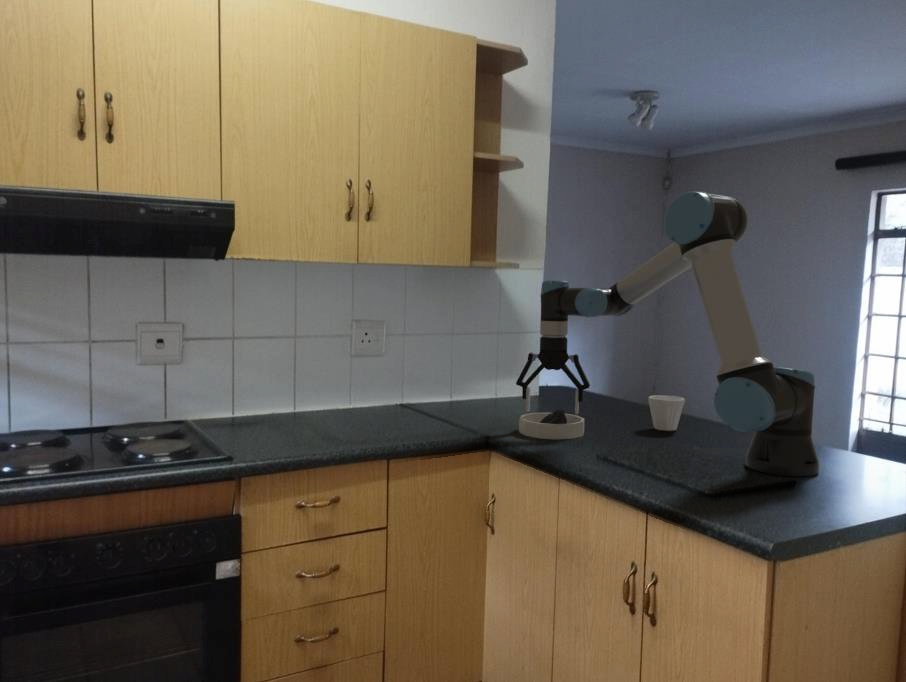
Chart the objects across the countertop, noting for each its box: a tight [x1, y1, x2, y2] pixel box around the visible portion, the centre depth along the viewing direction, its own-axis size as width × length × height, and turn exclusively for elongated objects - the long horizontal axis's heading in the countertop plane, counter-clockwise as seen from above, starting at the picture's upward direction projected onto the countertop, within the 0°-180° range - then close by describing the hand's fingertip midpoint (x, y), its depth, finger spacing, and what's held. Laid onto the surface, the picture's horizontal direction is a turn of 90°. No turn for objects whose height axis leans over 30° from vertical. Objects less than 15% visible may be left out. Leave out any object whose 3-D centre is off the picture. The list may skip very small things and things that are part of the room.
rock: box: [540, 409, 567, 424], centre depth 197 cm, size 7×10×6 cm
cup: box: [647, 394, 685, 433], centre depth 204 cm, size 10×10×9 cm
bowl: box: [518, 411, 585, 440], centre depth 199 cm, size 18×18×4 cm
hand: (552, 412), depth 199 cm, fingers open, 13 cm apart
